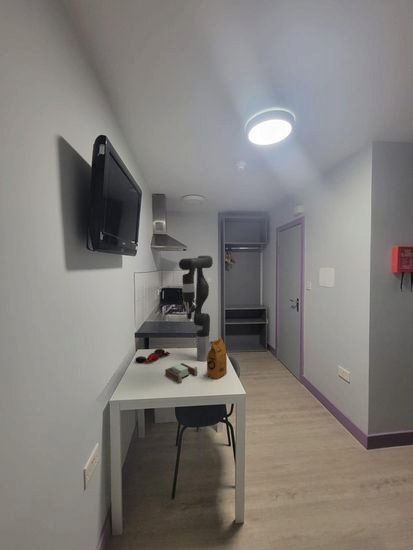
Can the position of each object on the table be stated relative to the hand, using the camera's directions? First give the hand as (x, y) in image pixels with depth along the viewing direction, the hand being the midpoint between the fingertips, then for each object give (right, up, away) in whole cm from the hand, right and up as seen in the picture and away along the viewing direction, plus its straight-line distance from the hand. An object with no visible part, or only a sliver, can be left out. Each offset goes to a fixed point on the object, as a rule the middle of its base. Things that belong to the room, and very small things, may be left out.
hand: (189, 318), depth 144 cm
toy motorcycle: (-28, -35, +27) cm, 53 cm away
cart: (-6, -35, 0) cm, 35 cm away
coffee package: (+17, -35, 0) cm, 39 cm away
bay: (-5, -35, 0) cm, 35 cm away
